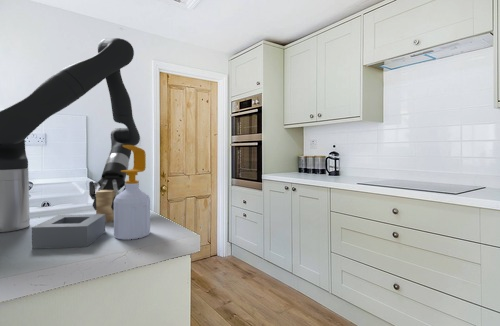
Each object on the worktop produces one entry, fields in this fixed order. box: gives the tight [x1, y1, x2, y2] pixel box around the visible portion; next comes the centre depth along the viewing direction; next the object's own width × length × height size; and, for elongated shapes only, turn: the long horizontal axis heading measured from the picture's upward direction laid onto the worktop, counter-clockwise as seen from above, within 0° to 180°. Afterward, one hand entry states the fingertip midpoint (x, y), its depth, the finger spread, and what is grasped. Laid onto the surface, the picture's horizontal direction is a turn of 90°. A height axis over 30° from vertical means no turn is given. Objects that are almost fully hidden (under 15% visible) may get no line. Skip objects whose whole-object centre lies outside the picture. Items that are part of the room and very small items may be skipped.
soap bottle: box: [113, 145, 151, 241], centre depth 75 cm, size 9×9×25 cm
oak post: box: [95, 190, 115, 223], centre depth 90 cm, size 5×5×10 cm
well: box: [31, 213, 106, 250], centre depth 72 cm, size 12×12×5 cm
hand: (104, 208), depth 89 cm, fingers closed on oak post, 4 cm apart
